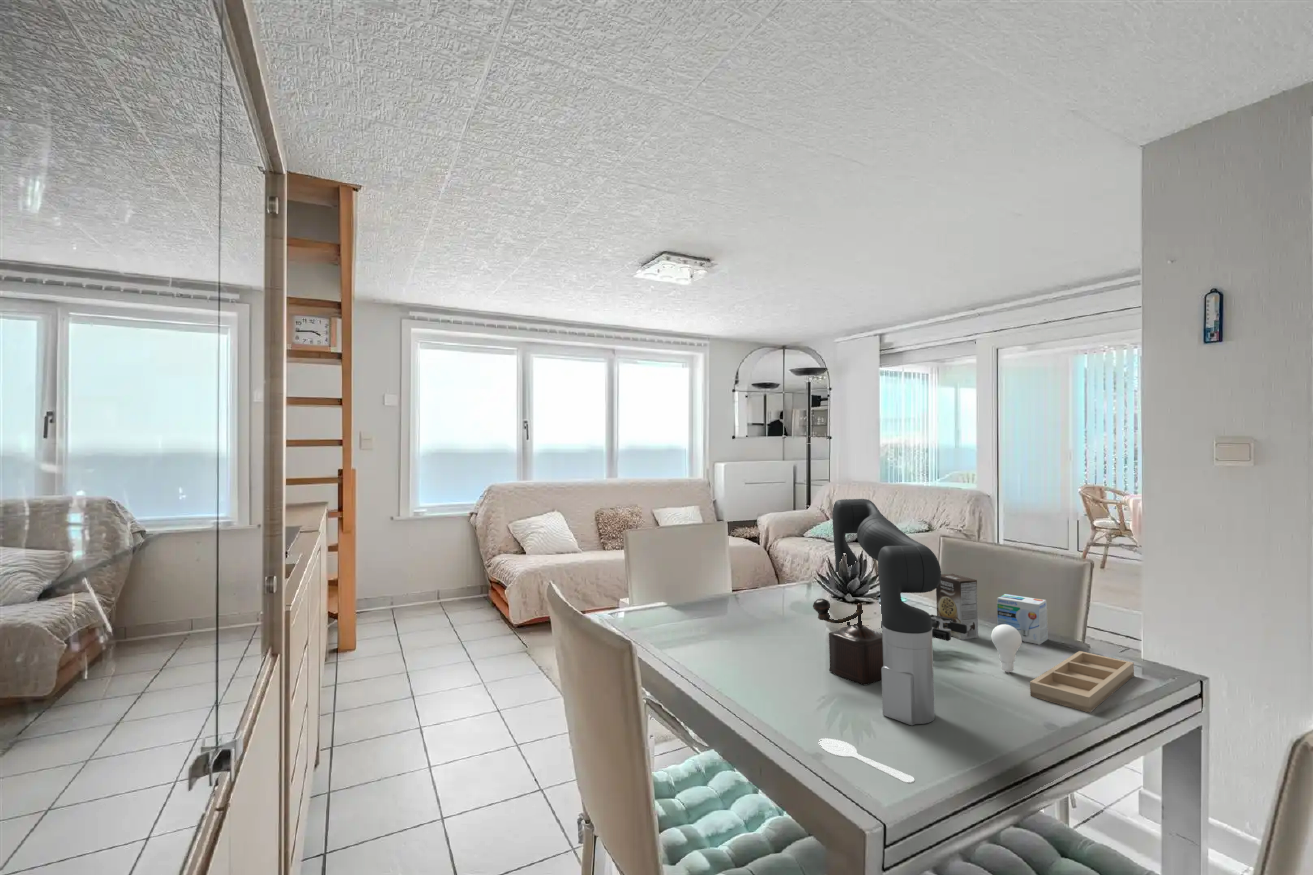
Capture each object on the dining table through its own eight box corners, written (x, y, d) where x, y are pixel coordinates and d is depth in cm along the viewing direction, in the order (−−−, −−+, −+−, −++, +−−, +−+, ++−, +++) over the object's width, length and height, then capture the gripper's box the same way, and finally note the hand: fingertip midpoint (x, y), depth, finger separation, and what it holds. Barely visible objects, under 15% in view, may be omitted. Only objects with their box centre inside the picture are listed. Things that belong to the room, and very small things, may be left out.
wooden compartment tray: (1089, 712, 117) (1089, 697, 117) (1030, 696, 125) (1029, 681, 125) (1134, 675, 135) (1133, 662, 135) (1079, 663, 143) (1079, 650, 143)
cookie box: (936, 630, 171) (934, 574, 171) (954, 628, 173) (952, 572, 173) (961, 640, 162) (959, 580, 162) (979, 637, 164) (977, 579, 164)
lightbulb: (1027, 677, 135) (1025, 629, 135) (997, 676, 136) (996, 628, 136) (1016, 668, 141) (1015, 621, 141) (988, 666, 142) (987, 620, 142)
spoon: (904, 789, 92) (904, 786, 92) (810, 746, 106) (810, 743, 106) (922, 777, 95) (922, 774, 95) (828, 736, 110) (828, 733, 110)
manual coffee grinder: (856, 662, 147) (853, 589, 147) (894, 676, 137) (892, 598, 138) (810, 675, 139) (808, 598, 139) (848, 691, 129) (845, 608, 130)
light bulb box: (996, 636, 165) (995, 597, 165) (1005, 631, 169) (1004, 593, 170) (1041, 645, 157) (1039, 604, 157) (1048, 639, 161) (1047, 599, 162)
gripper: (882, 609, 156) (943, 623, 143) (911, 600, 165) (971, 612, 152) (883, 638, 156) (944, 654, 143) (911, 627, 164) (972, 642, 152)
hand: (958, 632), depth 147 cm, fingers open, 8 cm apart
